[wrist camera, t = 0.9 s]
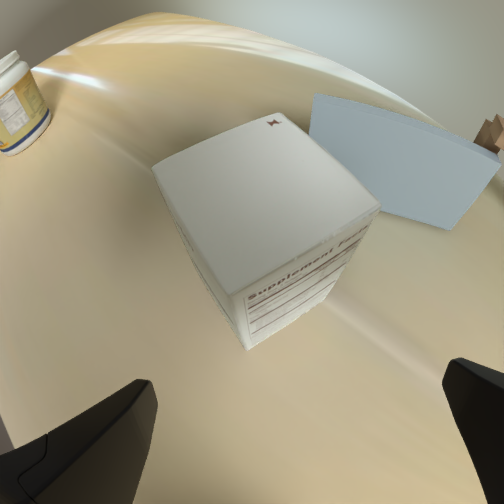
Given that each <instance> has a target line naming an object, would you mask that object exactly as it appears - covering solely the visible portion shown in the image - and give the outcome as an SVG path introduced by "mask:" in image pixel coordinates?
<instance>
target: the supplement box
mask: <svg viewBox="0 0 504 504" xmlns="http://www.w3.org/2000/svg"><path fill="white" fill-rule="evenodd" d="M151 169H152V172H153V174H154V177H155V179H156V182H157V184H158V186H159V189H160V191H161V193H162V195H163V198H164V200H165V202H166V204H167V207H168V209H169V211H170V213H171V216H172V218H173V220H174V222H175V224H176V227H177V229H178V231H179V233H180V236H181V238H182V240H183V242H184V245H185V247H186V249H187V251H188V253H189V255H190V257H191V260H192V262H193V264H194V266H195V268H196V270H197V272H198V274H199V276H200V278H201V279H202V281H203V282H204V284H205V286H206V287H207V289H208V291H209V293H210V294H211V296H212V298H213V299H214V301H215V302H216V304H217V306H218V307H219V309H220V311H221V312H222V314H223V315H224V317H225V319H226V320H227V322H228V323H229V325H230V326H231V328H232V330H233V331H234V333H235V334H236V336H237V337H238V339H239V340H240V342H241V344H242V345H243V347H244V349H245V350H246V351H247V350H249V349H251V348H252V347H254V346H256V345H257V344H259V343H260V342H262V341H263V340H265V339H267V338H268V337H270V336H271V335H273V334H274V333H276V332H278V331H279V330H281V329H282V328H284V327H285V326H287V325H288V324H290V323H291V322H293V321H294V320H296V319H297V318H299V317H300V316H302V315H303V314H305V313H306V312H308V311H309V310H311V309H312V308H314V307H315V306H316V305H318V304H319V303H321V302H322V301H323V300H324V299H325V297H326V296H327V294H328V293H329V291H330V290H331V289H332V287H333V286H334V284H335V283H336V281H337V280H338V278H339V276H340V275H341V273H342V272H343V270H344V268H345V267H346V265H347V264H348V262H349V260H350V258H351V257H352V255H353V253H354V252H355V250H356V248H357V247H358V245H359V243H360V242H361V240H362V238H363V236H364V235H365V233H366V231H367V230H368V228H369V226H370V225H371V223H372V221H373V220H374V218H375V217H376V215H377V214H378V213H379V211H380V209H381V207H382V205H381V203H380V201H379V200H378V199H377V197H376V196H374V195H373V194H372V193H371V192H370V191H369V189H368V188H366V187H365V186H364V185H363V184H362V183H361V182H360V181H359V180H358V179H357V178H356V177H355V176H354V175H353V174H352V173H351V172H350V171H349V170H347V169H346V168H345V167H344V166H343V165H342V164H341V163H340V162H339V161H338V160H337V159H335V158H334V157H333V156H332V155H331V154H330V153H329V152H328V151H327V150H326V149H325V148H324V147H322V146H321V145H320V144H318V143H317V142H316V141H315V140H314V139H312V138H311V137H310V136H309V135H308V134H306V133H305V132H304V131H303V130H302V129H300V128H299V127H298V126H297V125H295V124H294V123H293V122H292V121H290V120H289V119H288V118H287V117H285V116H284V115H283V114H282V113H279V112H278V113H275V114H271V115H268V116H265V117H262V118H259V119H256V120H253V121H250V122H248V123H245V124H243V125H240V126H237V127H235V128H232V129H230V130H227V131H225V132H223V133H220V134H218V135H216V136H213V137H211V138H209V139H206V140H204V141H202V142H199V143H197V144H195V145H193V146H191V147H188V148H186V149H184V150H182V151H180V152H178V153H176V154H173V155H171V156H169V157H167V158H165V159H163V160H162V161H160V162H158V163H157V164H155V165H153V166H152V168H151Z"/></svg>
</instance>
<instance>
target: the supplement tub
mask: <svg viewBox="0 0 504 504" xmlns="http://www.w3.org/2000/svg"><path fill="white" fill-rule="evenodd" d="M19 57H20V56H19V55H18V53H17V51H13V52H11V53H10V54H8V55H7V56H5V57H4V58H2V59H1V60H0V150H1V152H2V153H3V154H4V155H7V156H12V155H15V154H18V153H20V152H21V151H23V150H24V149H26V148H27V147H28V146H30V145H31V144H32V143H33V142H34V141H35V140H36V139H37V138H38V137H39V136H40V135H41V134H42V133H43V132H44V130H45V129H46V128H47V126H48V124H49V122H50V119H51V112H50V109H49V108H48V106H47V104H46V102H45V100H44V98H43V96H42V94H41V92H40V90H39V88H38V86H37V84H36V82H35V80H34V78H33V75H32V73H31V71H30V68H29V66H28V64H27V63H26V62H24V61H19Z"/></svg>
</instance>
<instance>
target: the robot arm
mask: <svg viewBox="0 0 504 504" xmlns="http://www.w3.org/2000/svg"><path fill="white" fill-rule="evenodd" d="M442 387H443V390H444V392H445V395H446V397H447V400H448V403H449V406H450V408H451V411H452V414H453V417H454V420H455V422H456V425H457V427H458V429H459V431H460V434H461V436H462V438H463V440H464V443H465V445H466V447H467V450H468V452H469V454H470V457H471V459H472V462H473V464H474V467H475V469H476V472H477V474H478V477H479V480H480V483H481V485H482V488H483V491H484V494H485V497H486V500H487V503H488V504H504V373H501V372H499V371H496V370H493V369H491V368H488V367H485V366H483V365H480V364H477V363H475V362H472V361H469V360H467V359H464V358H456V359H452V360H451V361H450V362H449V364H448V366H447V369H446V372H445V375H444V377H443V380H442ZM157 408H158V402H157V398H156V395H155V391H154V388H153V384H152V382H151V381H149V380H144V379H136V380H134V381H133V382H131V383H130V384H128V385H126V386H125V387H123V388H122V389H120V390H119V391H117V392H115V393H114V394H112V395H111V396H109V397H107V398H106V399H104V400H102V401H101V402H99V403H97V404H96V405H94V406H93V407H91V408H89V409H88V410H86V411H84V412H83V413H81V414H79V415H78V416H76V417H74V418H72V419H71V420H69V421H67V422H66V423H64V424H62V425H60V426H59V427H57V428H55V429H53V430H52V431H50V432H48V434H44V435H43V436H41V437H39V438H37V439H35V440H33V441H31V442H30V443H28V444H26V445H24V446H21V447H19V448H17V449H15V450H12V451H10V452H7V453H5V454H2V455H0V504H132V503H133V500H134V497H135V494H136V490H137V487H138V484H139V481H140V478H141V474H142V471H143V468H144V465H145V462H146V459H147V456H148V452H149V449H150V444H151V439H152V433H153V428H154V423H155V418H156V413H157Z"/></svg>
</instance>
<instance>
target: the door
mask: <svg viewBox="0 0 504 504" xmlns="http://www.w3.org/2000/svg"><path fill="white" fill-rule="evenodd" d="M309 136H310V137H311V138H312V139H314V140H315V141H316V142H317V143H318V144H320V145H321V146H322V147H324V148H325V149H326V150H327V151H328V152H329V153H330V154H331V155H332V156H333V157H334V158H335V159H337V160H338V161H339V162H340V163H341V164H342V165H343V166H344V167H345V168H346V169H347V170H349V171H350V172H351V173H352V174H353V175H354V176H355V177H356V178H357V179H358V180H359V181H360V182H361V183H362V184H363V185H364V186H365V187H366V188H368V189H369V191H370V192H371V193H372V194H373V195H374V196H376V197H377V199H378V200H379V201H380V203H381V205H382V207H381V209H380V211H384V212H387V213H391V214H395V215H398V216H402V217H406V218H409V219H413V220H416V221H420V222H423V223H426V224H430V225H433V226H436V227H439V228H443V229H446V230H449V231H450V230H451V229H452V228H453V226H454V225H455V224H456V223H457V222H458V221H459V219H460V218H461V217H462V216H463V215H464V213H465V212H466V211H467V210H468V209H469V207H470V206H471V205H472V204H473V202H474V201H475V200H476V199H477V197H478V196H479V195H480V193H481V192H482V191H483V190H484V188H485V187H486V186H487V184H488V183H489V182H490V180H491V179H492V177H493V176H494V175H495V173H496V172H497V170H498V169H499V168H500V166H501V162H500V160H499V158H498V155H497V154H495V153H493V152H491V151H489V150H487V149H485V148H483V147H481V146H479V145H477V144H475V143H473V142H470V141H468V140H466V139H464V138H462V137H460V136H457V135H455V134H452V133H450V132H448V131H445V130H443V129H440V128H438V127H435V126H433V125H430V124H427V123H425V122H422V121H419V120H416V119H413V118H410V117H407V116H404V115H401V114H398V113H395V112H392V111H389V110H385V109H382V108H378V107H375V106H371V105H367V104H363V103H360V102H355V101H351V100H347V99H343V98H338V97H334V96H329V95H324V94H318V93H315V94H314V99H313V106H312V114H311V121H310V129H309Z"/></svg>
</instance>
